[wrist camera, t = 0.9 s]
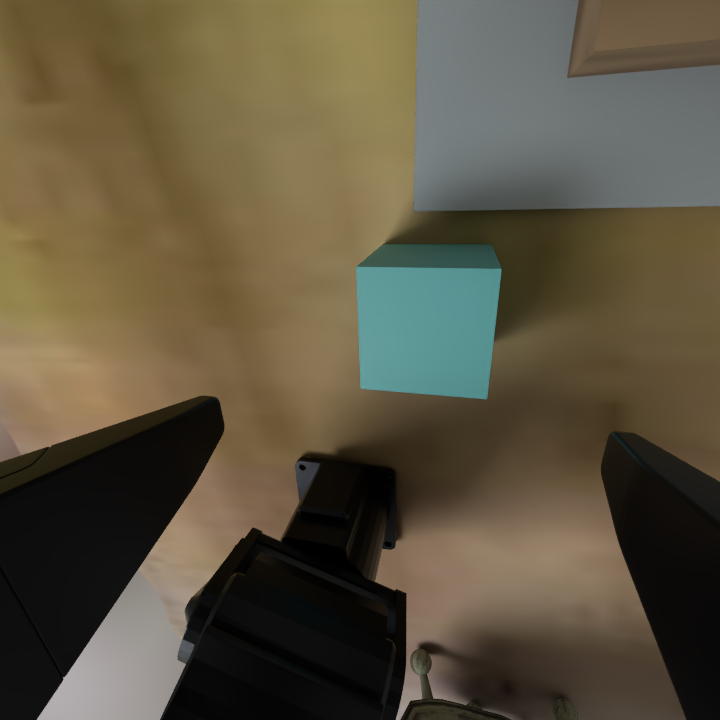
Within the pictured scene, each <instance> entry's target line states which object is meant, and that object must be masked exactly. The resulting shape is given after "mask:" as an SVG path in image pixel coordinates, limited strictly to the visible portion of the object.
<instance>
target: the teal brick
mask: <svg viewBox="0 0 720 720" xmlns="http://www.w3.org/2000/svg"><path fill="white" fill-rule="evenodd" d="M501 271H502V268H501V266H500V263H499V261H498V258H497V256H496V253H495V251H494V248H493V246H492V244H383V245H382V246H380V247H379V248H378V249H377V250H376V251H374V252H373V253H372V254H371V255H370V256H369V257H367V258H366V259H365V260H364V261H363V262H361V263H360V264H359V265H358V266H357V267H356V276H357V303H358V329H359V356H360V383H361V389H370V390H382V391H394V392H405V393H417V394H429V395H441V396H453V397H465V398H477V399H487V395H488V387H489V378H490V369H491V360H492V351H493V342H494V333H495V324H496V315H497V306H498V297H499V289H500V280H501Z"/></svg>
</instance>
